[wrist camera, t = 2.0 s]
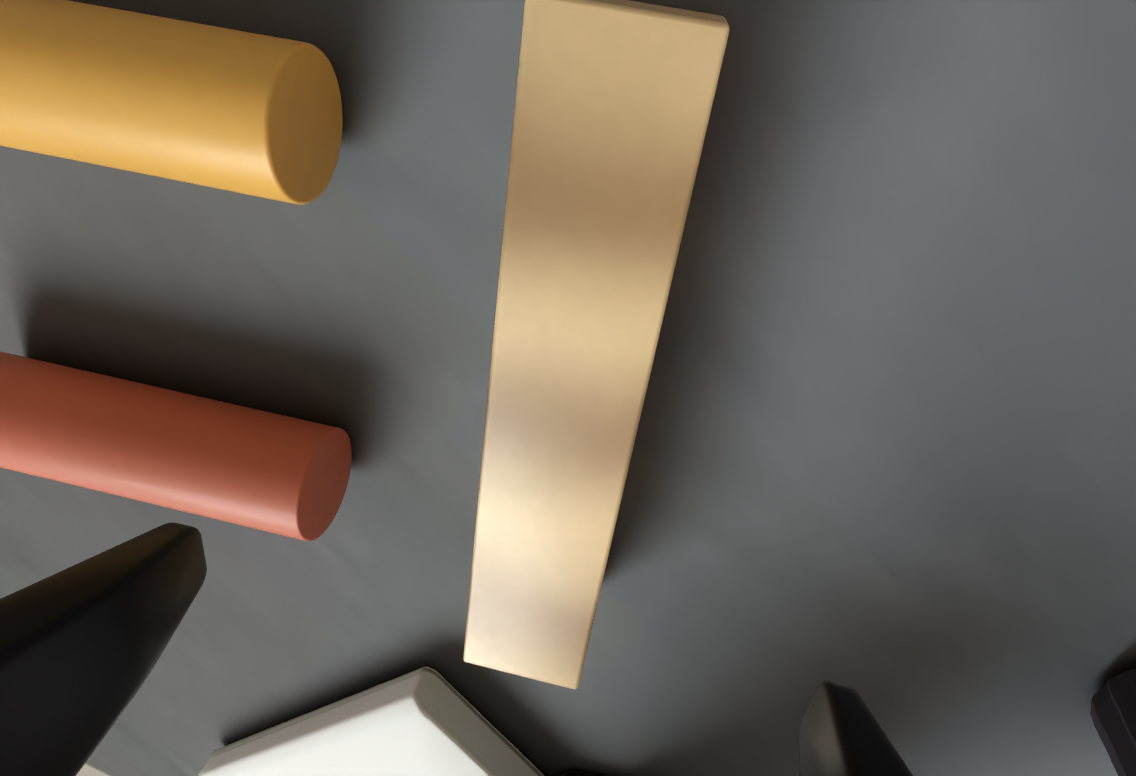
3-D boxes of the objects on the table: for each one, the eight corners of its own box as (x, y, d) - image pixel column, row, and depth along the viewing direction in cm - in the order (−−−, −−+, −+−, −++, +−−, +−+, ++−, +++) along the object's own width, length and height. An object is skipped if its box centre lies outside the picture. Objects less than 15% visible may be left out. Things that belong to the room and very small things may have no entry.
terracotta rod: (353, 493, 20) (301, 565, 18) (40, 420, 21) (-52, 479, 19) (351, 407, 19) (294, 473, 16) (14, 332, 20) (-92, 383, 17)
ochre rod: (346, 185, 16) (274, 223, 13) (-54, 107, 17) (-194, 128, 14) (341, 38, 14) (260, 48, 12) (-98, -39, 15) (-265, -46, 12)
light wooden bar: (596, 589, 20) (576, 691, 17) (498, 565, 21) (461, 663, 18) (727, 16, 13) (731, 24, 10) (567, -11, 13) (525, -11, 10)
